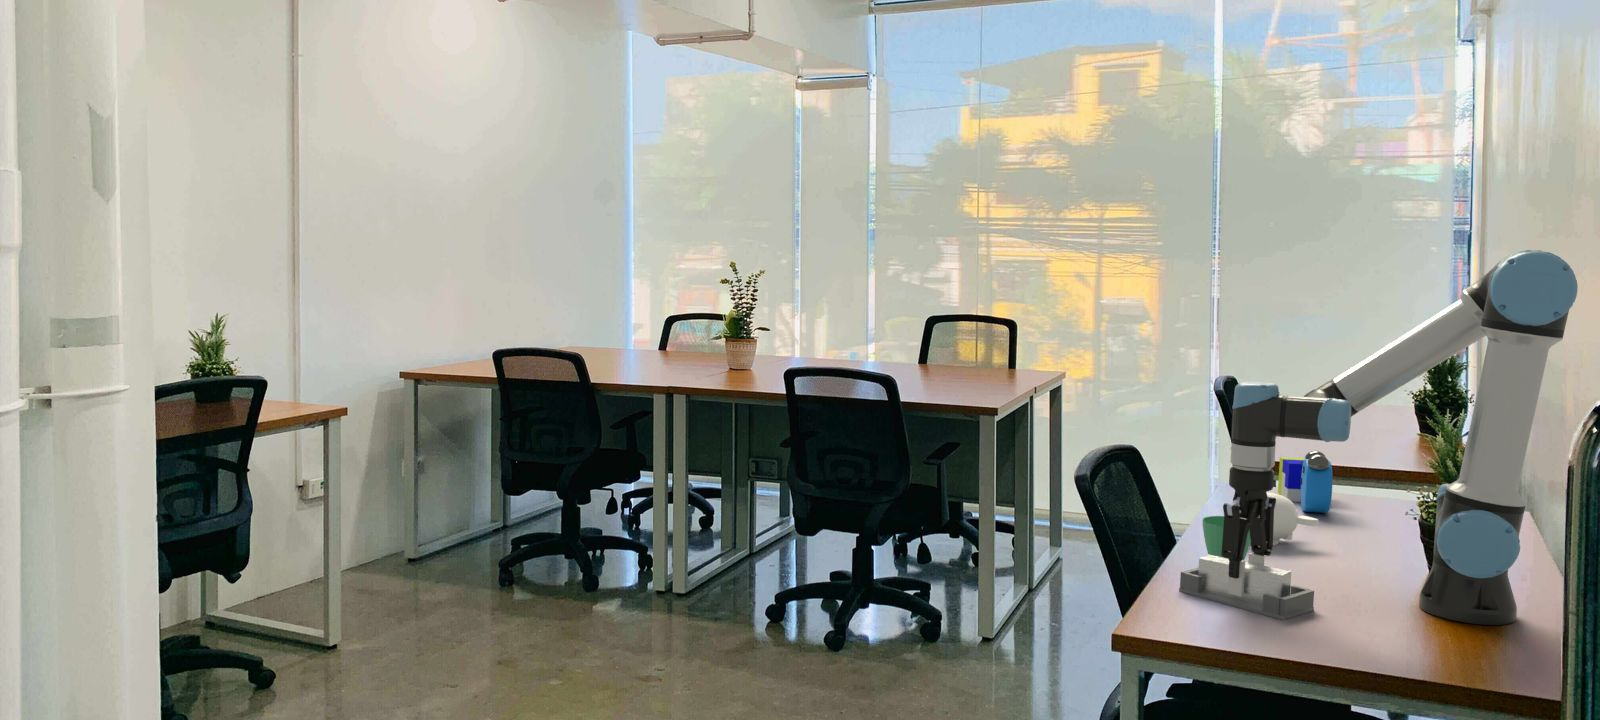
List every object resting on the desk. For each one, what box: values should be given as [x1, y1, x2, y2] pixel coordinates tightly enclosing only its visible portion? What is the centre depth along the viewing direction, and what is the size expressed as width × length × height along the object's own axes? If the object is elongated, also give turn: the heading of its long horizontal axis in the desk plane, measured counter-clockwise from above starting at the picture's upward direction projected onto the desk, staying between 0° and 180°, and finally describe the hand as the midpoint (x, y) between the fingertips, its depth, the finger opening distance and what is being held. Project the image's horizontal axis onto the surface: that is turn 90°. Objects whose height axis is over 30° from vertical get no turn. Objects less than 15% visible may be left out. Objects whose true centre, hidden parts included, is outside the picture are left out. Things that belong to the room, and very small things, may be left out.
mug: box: [1202, 515, 1251, 561], centre depth 235 cm, size 15×10×10 cm
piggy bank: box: [1242, 491, 1319, 546], centre depth 257 cm, size 12×12×15 cm
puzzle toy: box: [1277, 456, 1305, 503], centre depth 306 cm, size 10×10×10 cm
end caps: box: [1178, 567, 1315, 621], centre depth 212 cm, size 21×10×4 cm, turn 37°
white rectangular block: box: [1198, 554, 1292, 604], centre depth 213 cm, size 16×4×6 cm, turn 46°
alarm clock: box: [1300, 450, 1333, 516], centre depth 289 cm, size 13×6×15 cm, turn 162°
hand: (1245, 591), depth 212 cm, fingers open, 5 cm apart
